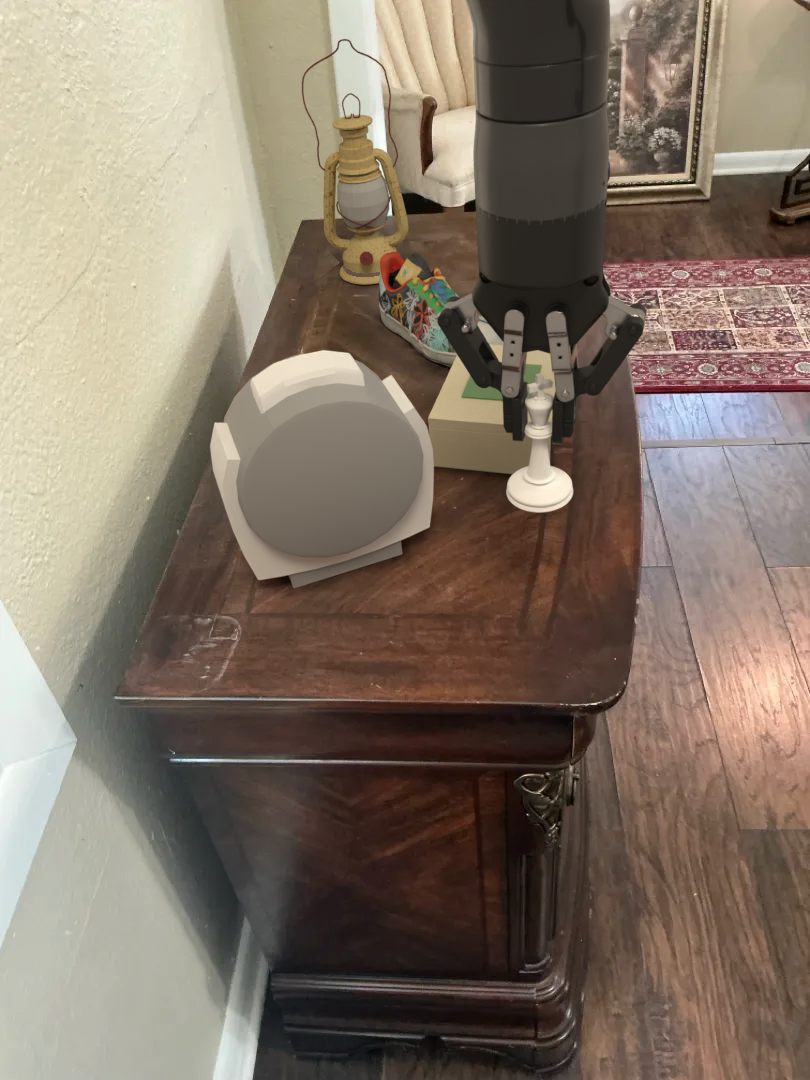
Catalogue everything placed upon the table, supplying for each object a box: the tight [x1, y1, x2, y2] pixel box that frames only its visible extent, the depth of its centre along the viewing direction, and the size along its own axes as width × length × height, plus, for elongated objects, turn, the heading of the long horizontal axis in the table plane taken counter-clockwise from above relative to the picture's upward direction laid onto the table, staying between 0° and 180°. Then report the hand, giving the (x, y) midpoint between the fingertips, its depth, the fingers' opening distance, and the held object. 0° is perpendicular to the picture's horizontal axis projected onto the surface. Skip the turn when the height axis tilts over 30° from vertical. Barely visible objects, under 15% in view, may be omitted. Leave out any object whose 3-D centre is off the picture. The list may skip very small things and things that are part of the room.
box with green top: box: [427, 344, 556, 475], centre depth 91 cm, size 12×15×6 cm
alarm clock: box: [209, 349, 435, 589], centre depth 74 cm, size 18×8×20 cm, turn 110°
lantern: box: [301, 38, 409, 285], centre depth 115 cm, size 12×10×30 cm
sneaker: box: [378, 251, 504, 368], centre depth 105 cm, size 8×21×10 cm, turn 38°
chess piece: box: [505, 373, 574, 513], centre depth 61 cm, size 5×5×10 cm
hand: (540, 435), depth 61 cm, fingers closed on chess piece
